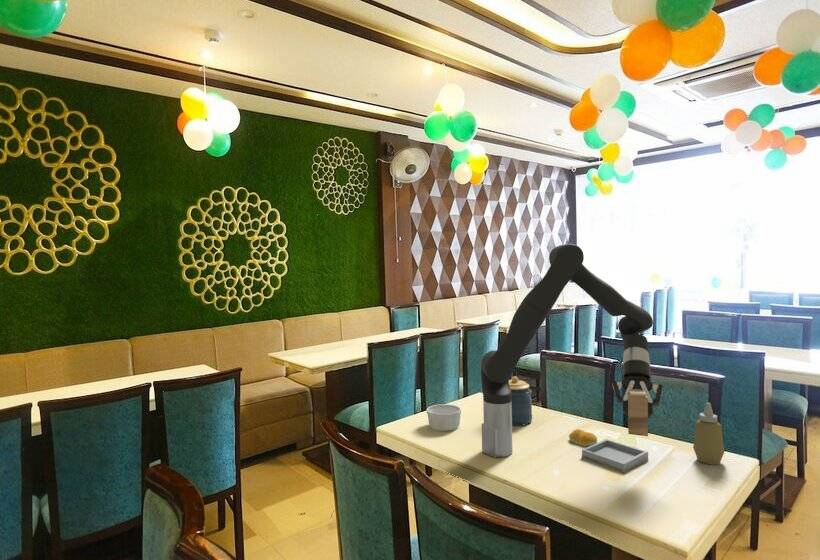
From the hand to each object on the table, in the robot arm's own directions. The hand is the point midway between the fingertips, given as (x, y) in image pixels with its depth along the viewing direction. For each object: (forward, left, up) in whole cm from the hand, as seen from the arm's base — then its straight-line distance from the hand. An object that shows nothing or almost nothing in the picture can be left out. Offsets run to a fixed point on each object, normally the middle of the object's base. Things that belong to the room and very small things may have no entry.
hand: (638, 415), depth 133 cm
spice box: (+2, +1, -5) cm, 6 cm away
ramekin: (-15, +68, -18) cm, 72 cm away
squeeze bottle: (+27, -8, -18) cm, 34 cm away
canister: (+11, +55, -18) cm, 59 cm away
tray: (+7, +11, -18) cm, 22 cm away
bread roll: (+12, +26, -18) cm, 34 cm away
